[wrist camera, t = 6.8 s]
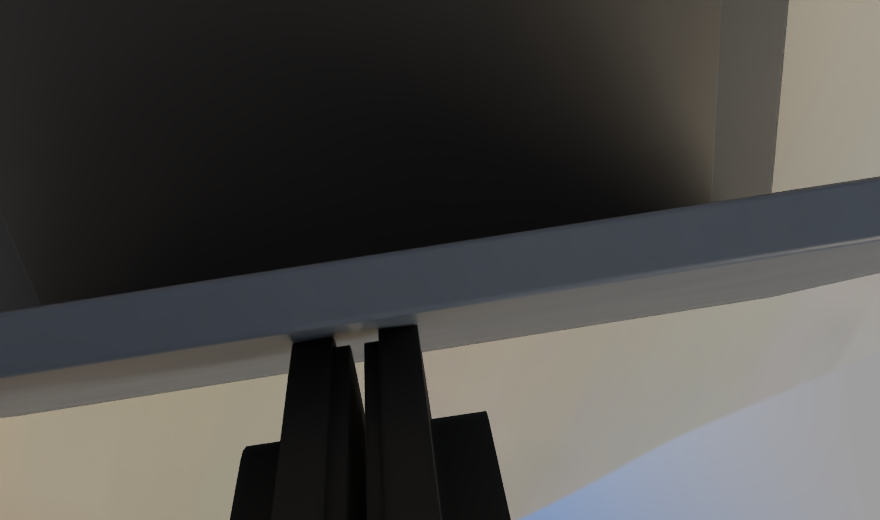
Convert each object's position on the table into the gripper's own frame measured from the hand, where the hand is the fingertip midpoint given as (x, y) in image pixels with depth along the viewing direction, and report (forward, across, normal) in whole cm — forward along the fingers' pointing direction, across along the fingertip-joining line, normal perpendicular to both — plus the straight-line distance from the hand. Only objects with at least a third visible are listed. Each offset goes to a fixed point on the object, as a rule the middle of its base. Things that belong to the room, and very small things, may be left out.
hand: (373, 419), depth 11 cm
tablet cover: (+5, 0, +1) cm, 5 cm away
